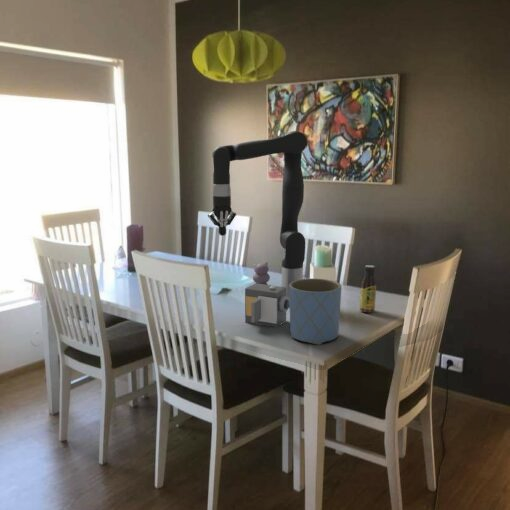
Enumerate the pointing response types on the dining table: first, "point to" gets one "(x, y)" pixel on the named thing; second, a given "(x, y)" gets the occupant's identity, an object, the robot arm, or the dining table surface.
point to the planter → (314, 310)
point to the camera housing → (267, 291)
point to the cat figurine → (261, 273)
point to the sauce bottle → (368, 290)
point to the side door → (264, 310)
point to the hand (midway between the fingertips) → (222, 235)
